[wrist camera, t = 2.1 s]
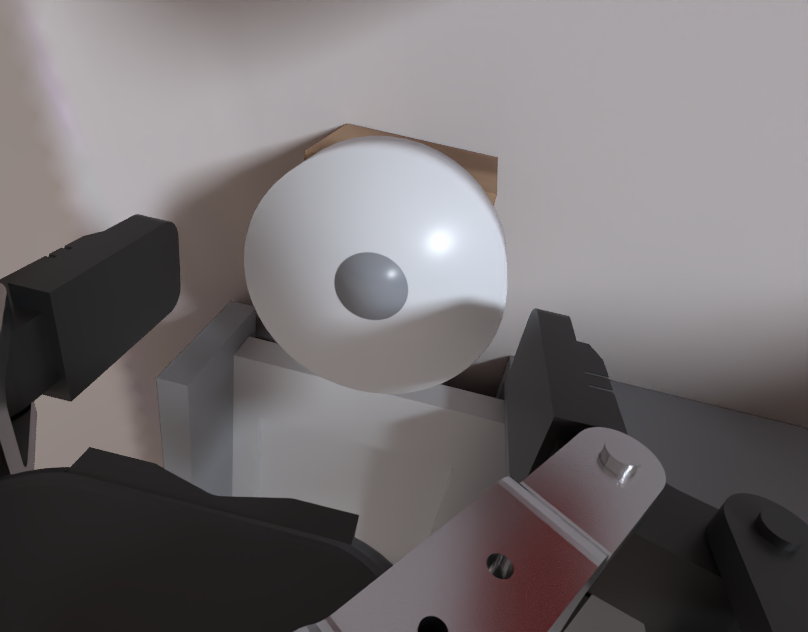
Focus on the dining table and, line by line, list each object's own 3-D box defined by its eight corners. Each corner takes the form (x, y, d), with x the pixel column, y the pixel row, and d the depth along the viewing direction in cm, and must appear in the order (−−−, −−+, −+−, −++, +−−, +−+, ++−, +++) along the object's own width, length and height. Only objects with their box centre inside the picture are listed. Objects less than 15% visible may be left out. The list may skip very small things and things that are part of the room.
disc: (540, 168, 12) (545, 188, 10) (471, 382, 15) (468, 418, 14) (275, 108, 12) (246, 119, 11) (264, 330, 15) (241, 361, 14)
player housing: (958, 465, 18) (1136, 637, 13) (732, 678, 27) (787, 835, 21) (510, 355, 19) (513, 477, 14) (424, 595, 27) (407, 727, 22)
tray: (645, 402, 19) (688, 514, 15) (522, 622, 27) (526, 737, 22) (225, 299, 20) (148, 375, 15) (225, 542, 27) (173, 638, 23)
